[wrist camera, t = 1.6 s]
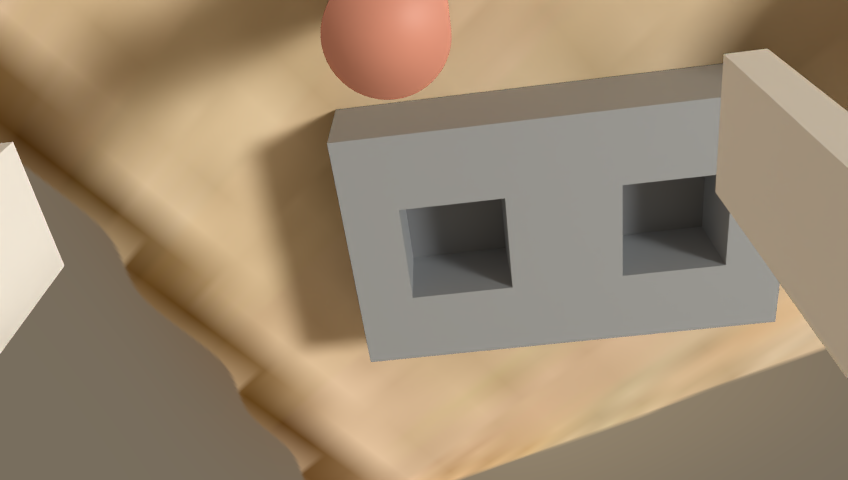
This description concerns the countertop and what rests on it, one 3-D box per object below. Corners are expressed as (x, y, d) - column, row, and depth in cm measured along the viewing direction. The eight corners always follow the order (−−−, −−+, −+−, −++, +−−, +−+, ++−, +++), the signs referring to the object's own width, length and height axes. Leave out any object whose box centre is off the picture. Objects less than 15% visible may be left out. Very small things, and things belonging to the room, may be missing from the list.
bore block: (335, 109, 38) (327, 143, 34) (766, 58, 37) (802, 87, 33) (375, 315, 44) (370, 362, 40) (746, 277, 43) (775, 321, 39)
